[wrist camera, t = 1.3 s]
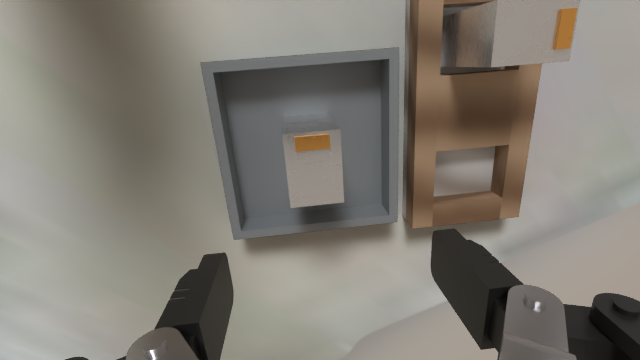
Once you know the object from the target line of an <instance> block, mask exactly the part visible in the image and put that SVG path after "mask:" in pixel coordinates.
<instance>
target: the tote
mask: <svg viewBox="0 0 640 360" xmlns="http://www.w3.org/2000/svg"><path fill="white" fill-rule="evenodd" d="M200 63H201V68H202V74H203V79H204V84H205V90H206V95H207V100H208V106H209V111H210V116H211V122H212V127H213V132H214V138H215V143H216V148H217V154H218V159H219V164H220V170H221V175H222V180H223V186H224V191H225V196H226V202H227V207H228V212H229V217H230V223H231V228H232V233H233V239H234V240H239V239H248V238H257V237H266V236H275V235H284V234H293V233H302V232H312V231H321V230H330V229H339V228H348V227H357V226H366V225H375V224H384V223H393V222H397V220H398V119H399V47H397V48H384V49H371V50H358V51H345V52H332V53H318V54H305V55H292V56H279V57H266V58H253V59H240V60H227V61H214V62H200ZM319 113H328V114H329V115H330V117H331V118H332V119H333V120H334V122H335V123H336V124H337V125H338V127H339V128H340V130H341V149H342V168H343V188H344V202H343V203H334V204H324V205H315V206H305V207H296V208H290V199H289V190H288V181H287V173H286V164H285V155H284V146H283V138H282V130H283V119H284V117H285V116H296V115H308V114H319Z"/></svg>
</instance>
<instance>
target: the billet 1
mask: <svg viewBox="0 0 640 360" xmlns="http://www.w3.org/2000/svg"><path fill="white" fill-rule="evenodd" d="M282 138H283V146H284V155H285V164H286V173H287V181H288V190H289V199H290V208H296V207H305V206H315V205H324V204H334V203H343V202H344V188H343V168H342V149H341V130H340V128H339V127H338V125H337V124H336V123H335V122H334V120H333V119H332V118H331V117H330V115H329V114H328V113H319V114H308V115H296V116H285V117H284V119H283V130H282Z"/></svg>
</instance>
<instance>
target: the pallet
mask: <svg viewBox="0 0 640 360" xmlns="http://www.w3.org/2000/svg"><path fill="white" fill-rule="evenodd" d="M492 1H495V0H406V29H405V92H404V156H403V217H404V218H405V219H406V221H407V222H408V223H409V225H410V226H411V227H412V229H414V228H423V227H432V226H441V225H450V224H459V223H468V222H477V221H486V220H495V219H504V218H513V217H519V210H520V204H521V197H522V191H523V184H524V178H525V171H526V164H527V158H528V151H529V145H530V138H531V132H532V125H533V119H534V112H535V105H536V99H537V92H538V86H539V79H540V73H541V66H542V63H539V64H527V65H514V66H502V67H440V63H441V44H442V24H443V16H446V15H450V14H453V13H456V12H459V11H463V10H466V9H469V8H472V7H475V6H479V5H482V4H485V3H488V2H492Z"/></svg>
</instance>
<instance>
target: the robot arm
mask: <svg viewBox="0 0 640 360" xmlns="http://www.w3.org/2000/svg"><path fill="white" fill-rule="evenodd" d="M431 272H432V276H433V278H434V280H435V282H436V284H437V285H438V287H439V288H440V290H441V291H442V292H443V294H444V295H445V297H446V298H447V300H448V301H449V303H450V304H451V306H452V307H453V309H454V310H455V312H456V313H457V315H458V316H459V317H460V319H461V321H462V322H463V324H464V325H465V327H466V328H467V330H468V331H469V332H470V334H471V335H472V337H473V338H474V340H475V341H476V343H477V344H478V346H479V347H480V349H481V350H482V349H490V348H496V350H497V351H498V352H499V353H498V359H497V360H640V302H639V301H637V300H635V299H632V298H630V297H627V296H623V295H619V294H613V293H602V294H598V295H596V296H595V297H594V300H593V303H592V307H585V306H576V305H567V304H563V303H562V302H561V300H560V299H559V298H557V297H556V296H555V295H554V294H552V293H550V292H549V291H547V290H545V289H542V288H539V287H536V286H531V285H524V284H523V283H522V282H520V281H519V280H518V279H517V278H516V277H515V276H514V275H513V274H512V273H511V272H510V271H509V270H507V268H505V267H504V266H503V265H502V264H501V263H499V261H498V260H497V259H496V258H495V257H494V256H492V254H491V253H489V252H488V251H487V250H486V249H485V248H484V247H483V246H481V245H479V244H477V243H475V242H473V241H472V240H466V239H465V238H464V237H463V236H462V235H461V234H460V233H459V232H458V231H457V230H456V229H446V230H437V231H434V232H433V236H432V251H431ZM232 305H233V285H232V280H231V275H230V269H229V264H228V259H227V255H226V253H216V254H206V255H204V256H203V258H202V260H201V263H200V265H199V267H198V269H192V270H189V271H188V272H187V273H186V274H185V275H184V276H183V277H182V278H181V279H180V280H179V282H178V284H177V286H176V288H175V291H174V292H173V294H172V296H171V298H170V300H169V302H168V304H167V306H166V308H165V309H164V311H163V313H162V315H161V317H160V319H159V321H158V323H157V325H156V327H155V329H154V330H152V331H150V332H148V333H146V334H145V335H143V336H141V337H140V338H139V339H138V340H136V341H135V342H134V343H133V344H132V346H131V347H130V348H129V350H128V352H127V355H126V356H125V357H122V358H120V359H117V360H220V357H221V352H222V348H223V344H224V339H225V335H226V331H227V327H228V322H229V318H230V314H231V309H232ZM66 360H88V359H87V358H84V357H73V358H69V359H66Z"/></svg>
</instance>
